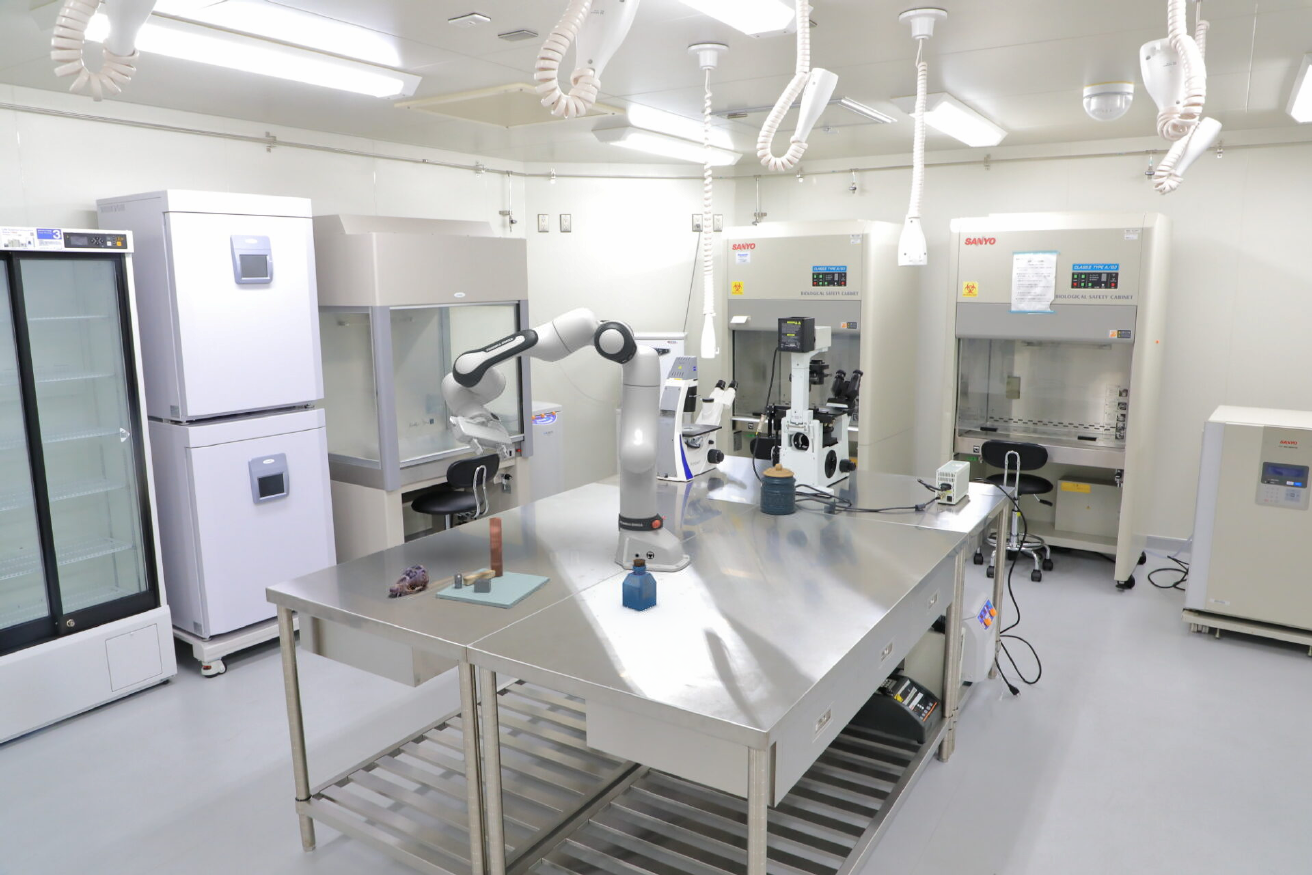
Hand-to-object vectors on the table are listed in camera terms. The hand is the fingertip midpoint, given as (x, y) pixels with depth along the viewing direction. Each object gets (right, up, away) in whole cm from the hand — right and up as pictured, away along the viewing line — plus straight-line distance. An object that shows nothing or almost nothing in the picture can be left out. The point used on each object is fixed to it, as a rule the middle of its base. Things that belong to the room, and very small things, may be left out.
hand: (493, 456), depth 237 cm
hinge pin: (-7, -36, -10) cm, 38 cm away
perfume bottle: (+41, -38, -19) cm, 59 cm away
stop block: (0, -36, -12) cm, 38 cm away
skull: (-21, -36, -9) cm, 43 cm away
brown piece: (-2, -34, -3) cm, 34 cm away
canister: (+90, -22, +73) cm, 118 cm away
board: (+2, -36, -8) cm, 37 cm away
